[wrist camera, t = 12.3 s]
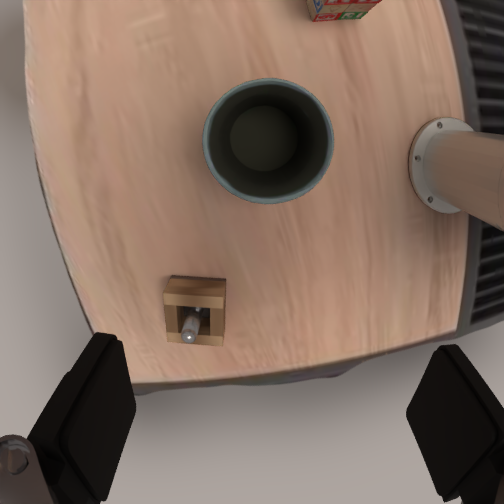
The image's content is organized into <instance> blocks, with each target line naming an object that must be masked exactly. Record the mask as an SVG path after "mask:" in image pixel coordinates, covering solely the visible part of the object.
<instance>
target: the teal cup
mask: <svg viewBox="0 0 504 504" xmlns="http://www.w3.org/2000/svg"><path fill="white" fill-rule="evenodd" d="M202 144H203V151H204V156H205V160H206V162H207V165H208V168H209V169H210V171H211V173H212V175H213V176H214V177H215V179H216V180H217V181H218V182H219V183H220V184H221V185H222V186H223V187H224V188H225V189H226V190H228V191H229V192H230V193H232V194H234V195H235V196H237V197H239V198H241V199H244V200H247V201H250V202H253V203H260V204H277V203H282V202H287V201H290V200H293V199H296V198H298V197H300V196H302V195H304V194H306V193H307V192H308V191H310V190H311V189H312V188H313V187H314V186H315V185H316V184H317V183H318V182H319V181H320V180H321V179H322V177H323V176H324V174H325V173H326V171H327V169H328V167H329V165H330V162H331V158H332V155H333V149H334V134H333V128H332V124H331V121H330V118H329V116H328V114H327V112H326V110H325V108H324V107H323V105H322V104H321V103H320V102H319V100H318V99H317V98H316V97H315V96H314V95H313V94H312V93H310V92H309V91H307V90H306V89H305V88H303V87H301V86H299V85H297V84H295V83H293V82H290V81H286V80H282V79H277V78H262V79H257V80H252V81H248V82H245V83H242V84H240V85H238V86H236V87H234V88H232V89H231V90H229V91H228V92H227V93H225V94H224V95H223V96H222V97H221V98H220V99H219V100H218V101H217V102H216V103H215V105H214V106H213V107H212V109H211V111H210V113H209V115H208V117H207V119H206V122H205V125H204V130H203V139H202Z"/></svg>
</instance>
